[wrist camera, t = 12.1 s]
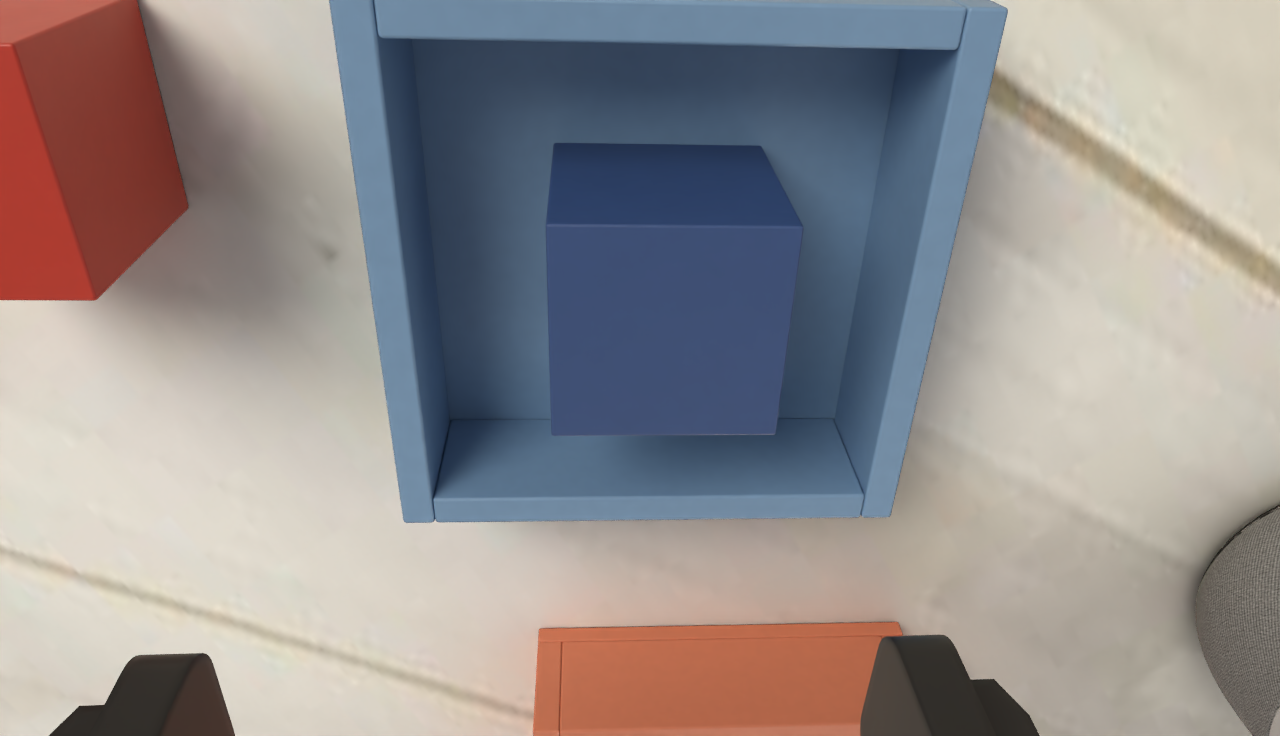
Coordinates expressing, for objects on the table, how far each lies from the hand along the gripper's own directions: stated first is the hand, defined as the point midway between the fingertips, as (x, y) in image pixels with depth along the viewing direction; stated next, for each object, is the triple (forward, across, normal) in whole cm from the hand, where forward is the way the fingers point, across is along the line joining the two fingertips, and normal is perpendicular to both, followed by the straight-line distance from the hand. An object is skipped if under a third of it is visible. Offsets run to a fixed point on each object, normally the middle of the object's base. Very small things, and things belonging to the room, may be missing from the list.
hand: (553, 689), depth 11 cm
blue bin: (+14, -2, 0) cm, 14 cm away
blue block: (+14, -2, 0) cm, 14 cm away
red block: (+14, +12, -3) cm, 19 cm away
